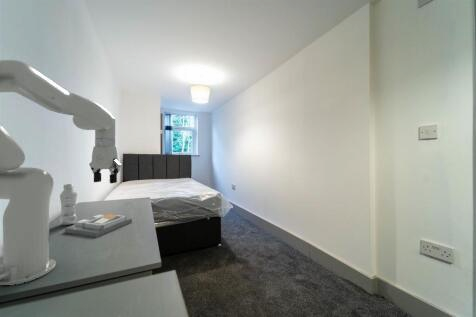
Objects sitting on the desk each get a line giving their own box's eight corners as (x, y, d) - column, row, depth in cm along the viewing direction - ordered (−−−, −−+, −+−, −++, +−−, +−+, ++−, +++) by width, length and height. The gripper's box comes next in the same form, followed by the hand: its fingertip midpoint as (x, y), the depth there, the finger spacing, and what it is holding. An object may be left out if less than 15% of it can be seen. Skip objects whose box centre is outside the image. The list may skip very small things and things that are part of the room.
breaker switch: (103, 225, 94) (102, 223, 93) (94, 224, 95) (93, 222, 94) (116, 217, 101) (116, 214, 101) (108, 216, 102) (108, 213, 102)
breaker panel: (96, 237, 87) (96, 227, 87) (64, 232, 91) (64, 223, 91) (131, 222, 106) (131, 214, 106) (104, 218, 111) (104, 211, 110)
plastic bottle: (62, 223, 103) (62, 184, 102) (78, 221, 105) (78, 183, 105) (57, 227, 97) (57, 185, 96) (74, 225, 100) (74, 185, 99)
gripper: (81, 142, 88) (81, 182, 89) (114, 142, 84) (114, 184, 84) (97, 143, 95) (97, 180, 96) (128, 143, 91) (128, 182, 92)
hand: (105, 182), depth 90 cm, fingers open, 8 cm apart
